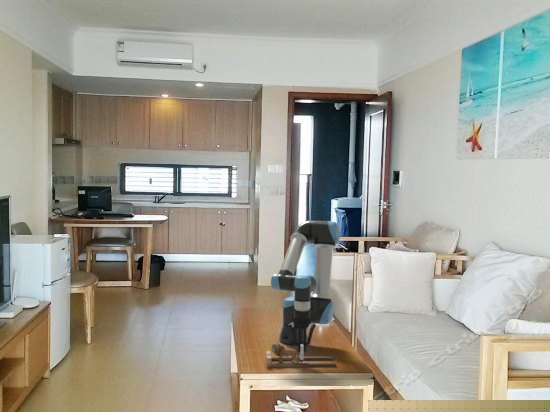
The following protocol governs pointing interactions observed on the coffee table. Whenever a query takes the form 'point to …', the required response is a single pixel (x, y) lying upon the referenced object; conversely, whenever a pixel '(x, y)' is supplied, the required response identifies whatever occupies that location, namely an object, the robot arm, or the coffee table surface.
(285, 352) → the lion figurine
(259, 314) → the coffee table surface
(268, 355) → the track
